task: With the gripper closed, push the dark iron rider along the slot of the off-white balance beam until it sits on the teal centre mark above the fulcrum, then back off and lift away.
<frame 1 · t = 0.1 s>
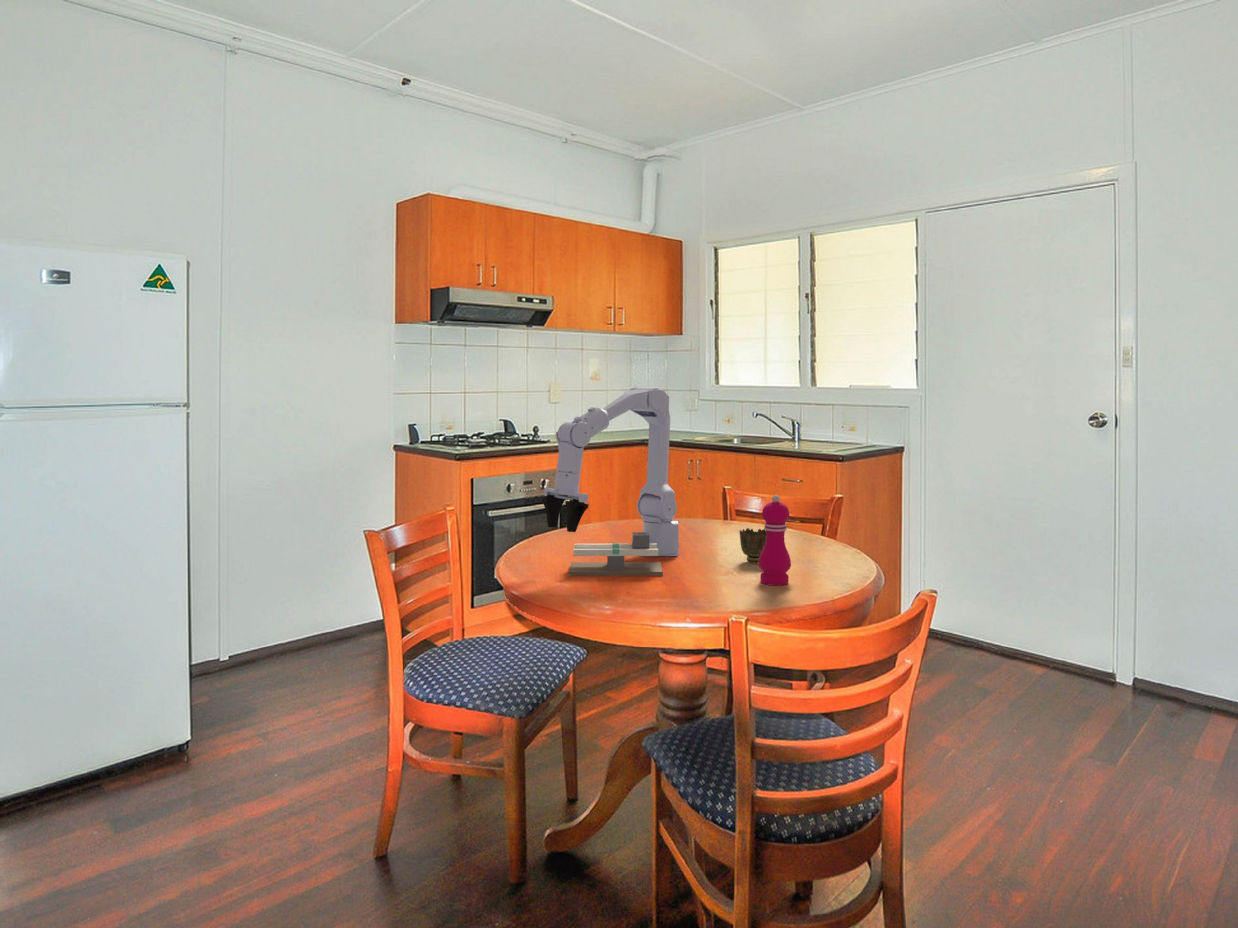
hand: (561, 529, 186), 11 cm above the table, tool pointing down, fingers open, 7 cm apart
pepper mill: (774, 582, 178), on the table
rider: (640, 542, 188), point 7 cm above the table, slide at 6.0 cm
cup: (753, 562, 198), on the table
balance stand: (615, 571, 189), on the table
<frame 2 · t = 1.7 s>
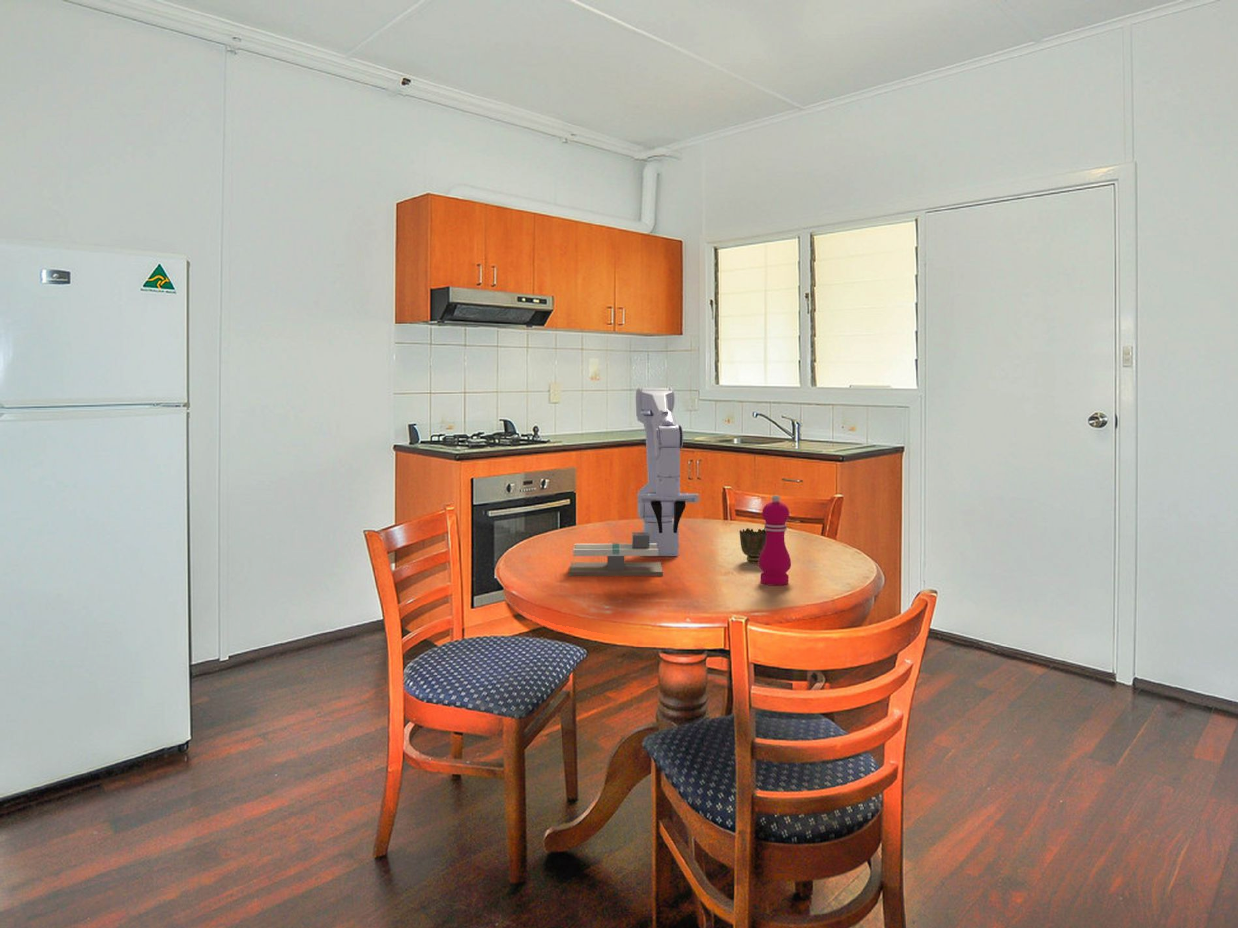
hand: (667, 532, 188), 9 cm above the table, tool pointing down, fingers open, 3 cm apart
nothing on the table moved.
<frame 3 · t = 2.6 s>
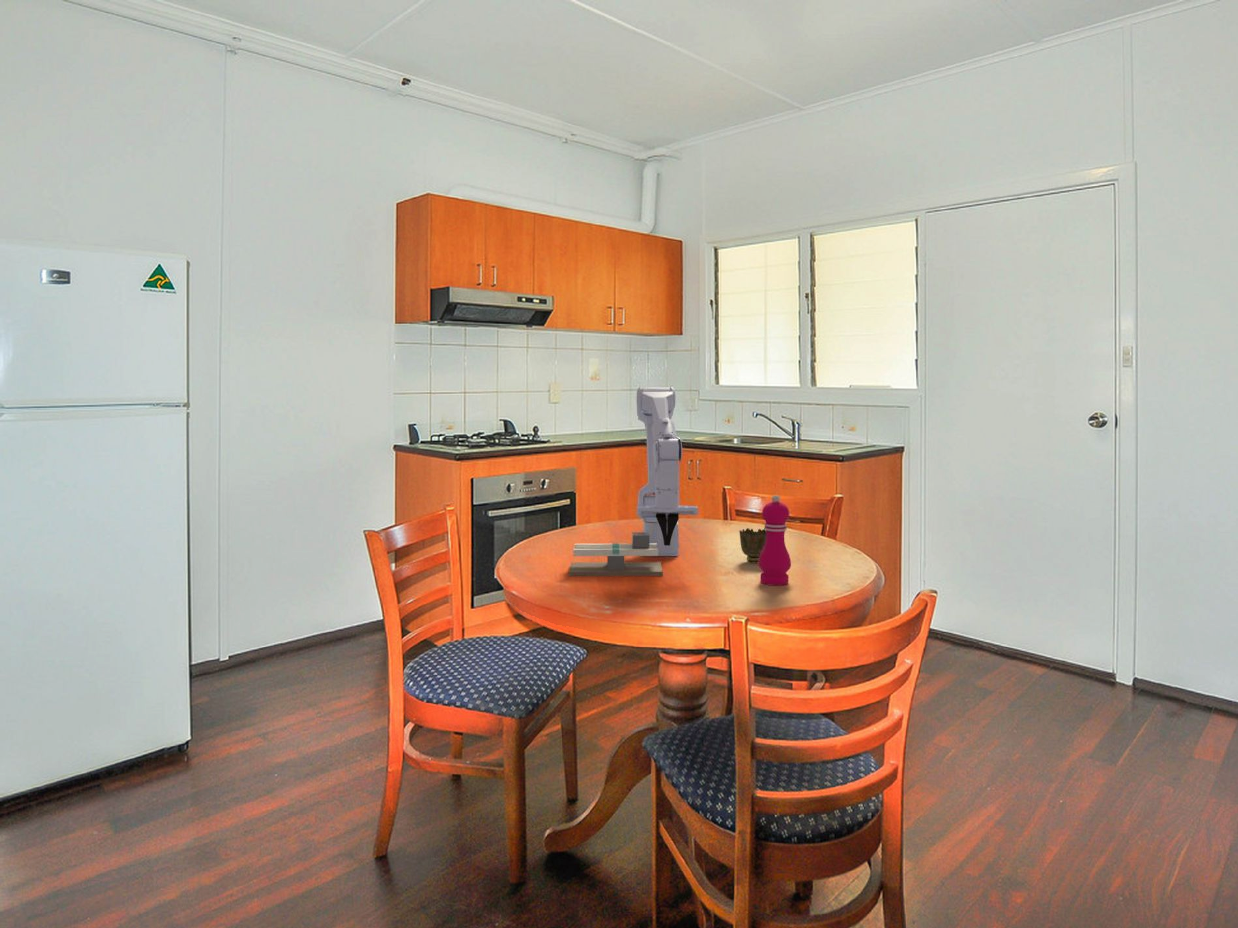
hand: (666, 544, 188), 6 cm above the table, tool pointing down, fingers closed
nothing on the table moved.
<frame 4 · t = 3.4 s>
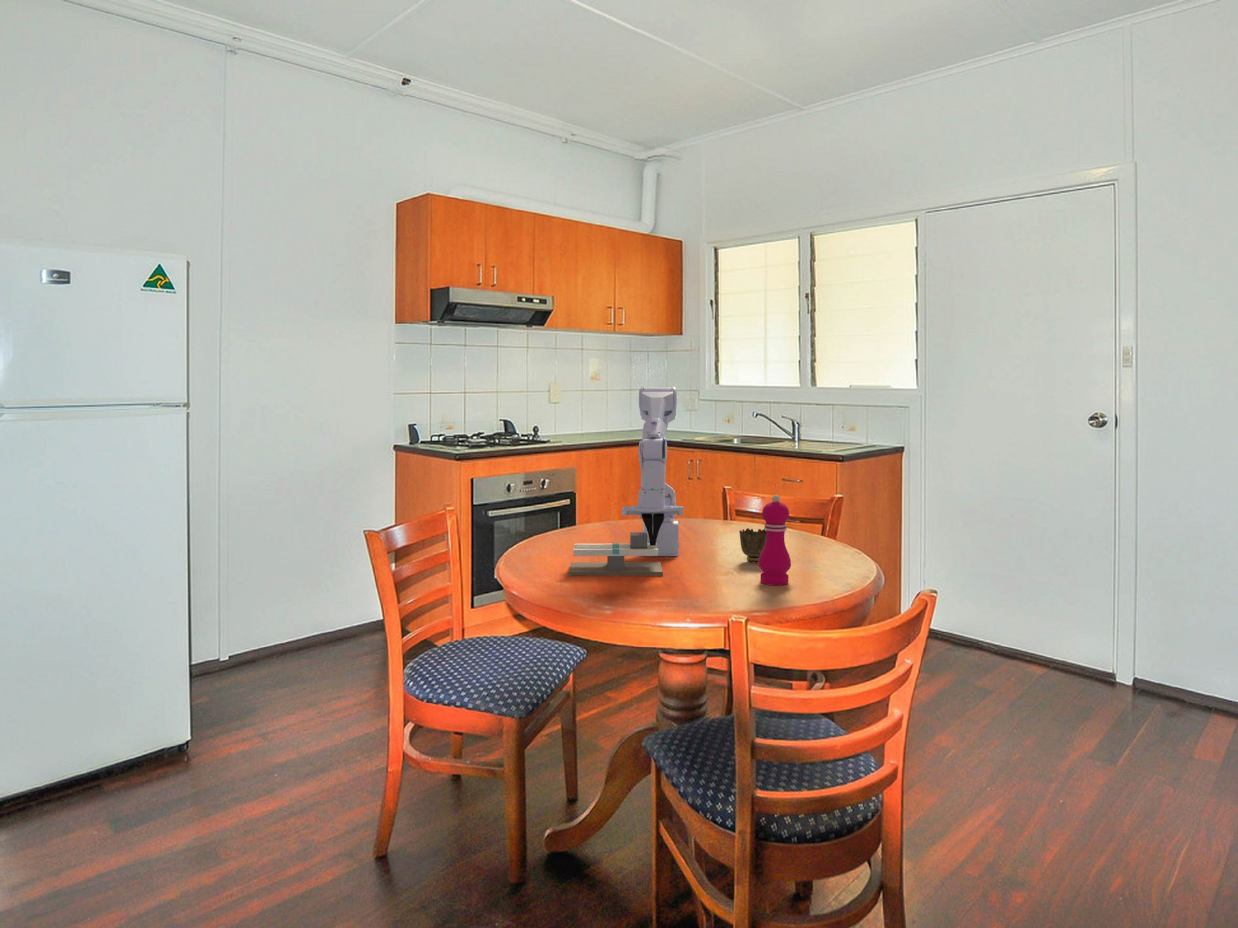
hand: (652, 544, 188), 6 cm above the table, tool pointing down, fingers closed
rider: (638, 542, 188), point 7 cm above the table, slide at 5.5 cm, touching gripper
everything else where it was.
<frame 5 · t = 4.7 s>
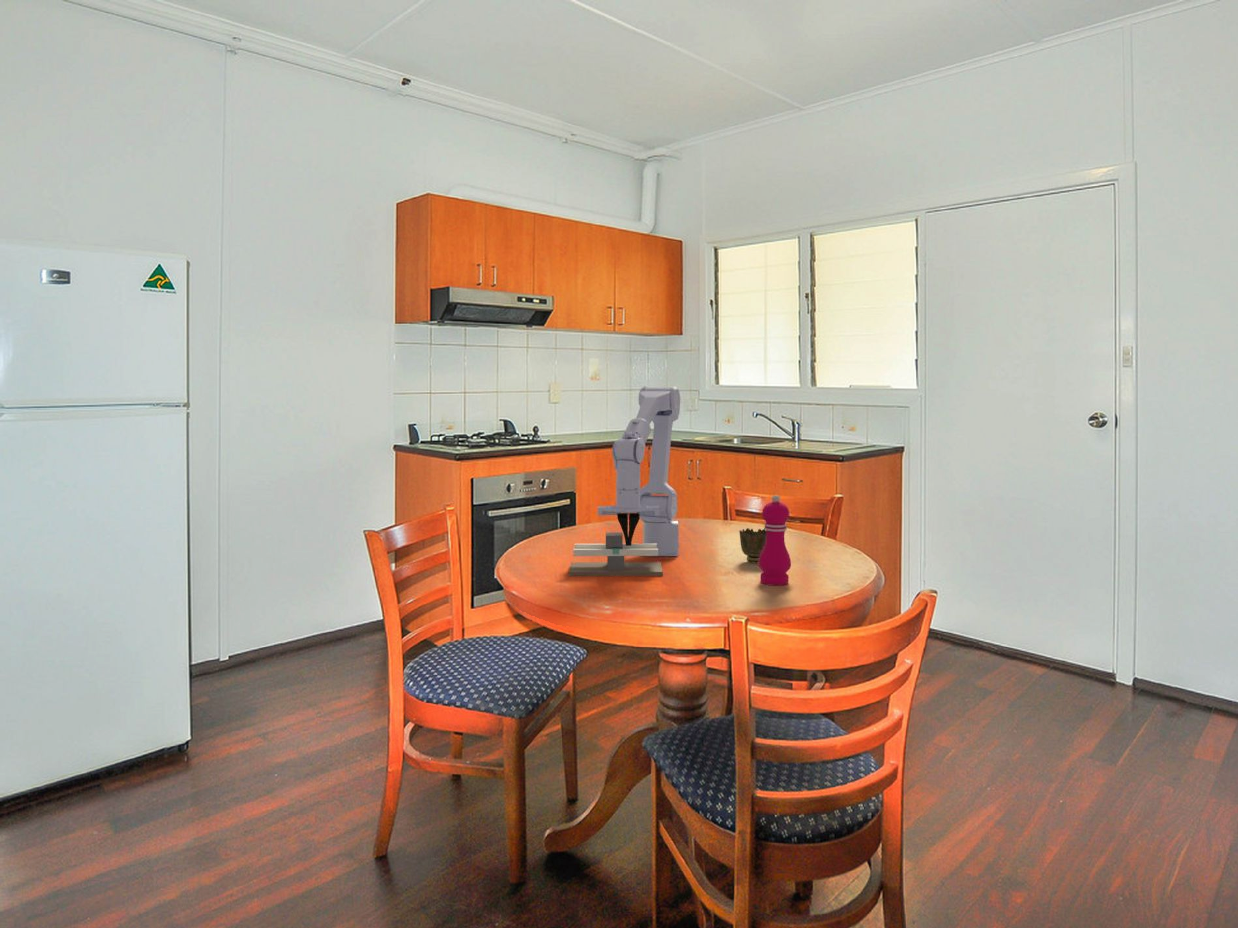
hand: (628, 544, 188), 6 cm above the table, tool pointing down, fingers closed
rider: (614, 542, 188), point 7 cm above the table, slide at -0.4 cm, touching gripper
everything else where it was.
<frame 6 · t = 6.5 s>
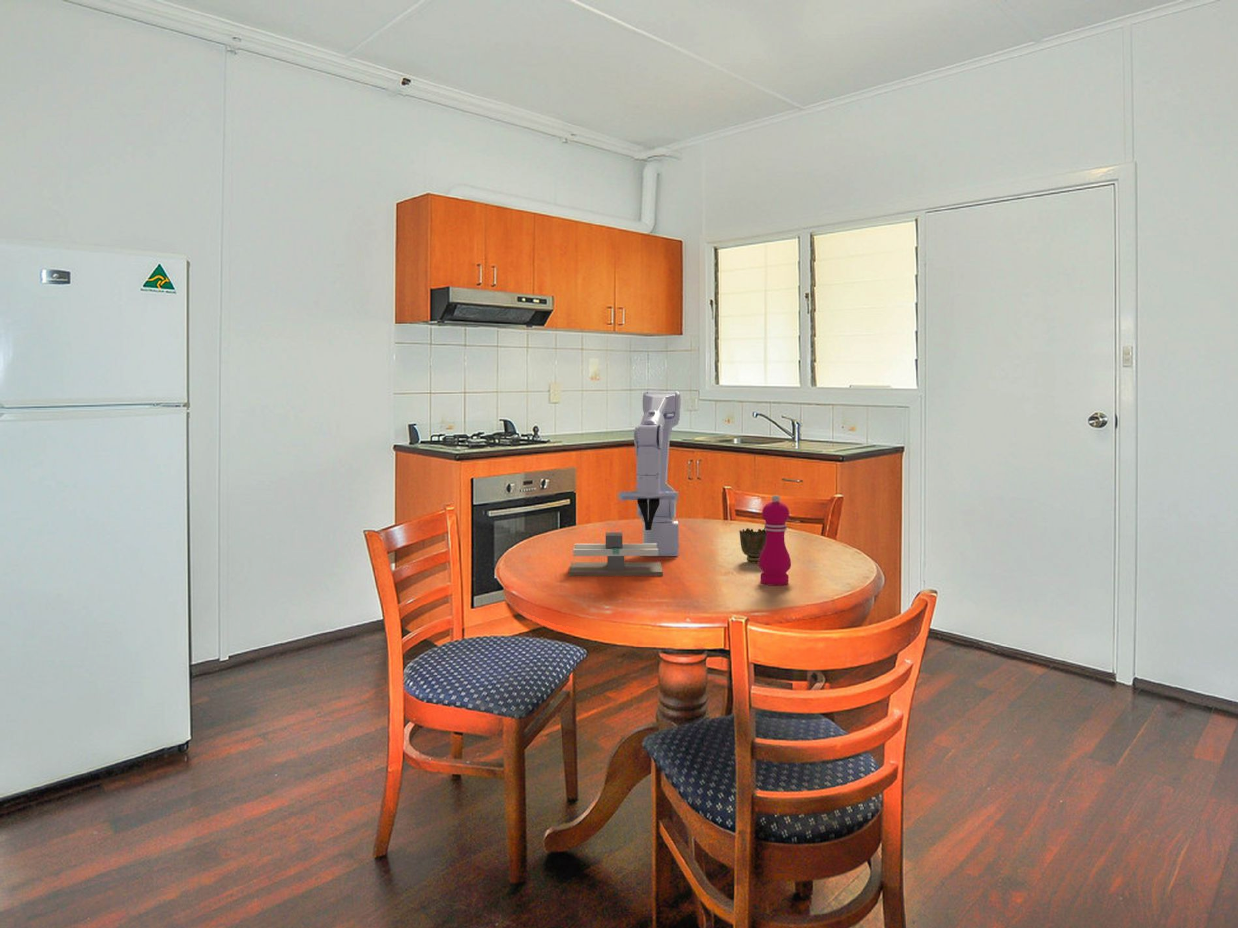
hand: (648, 529, 192), 9 cm above the table, tool pointing down, fingers closed
rider: (614, 542, 188), point 7 cm above the table, slide at -0.4 cm
everything else where it was.
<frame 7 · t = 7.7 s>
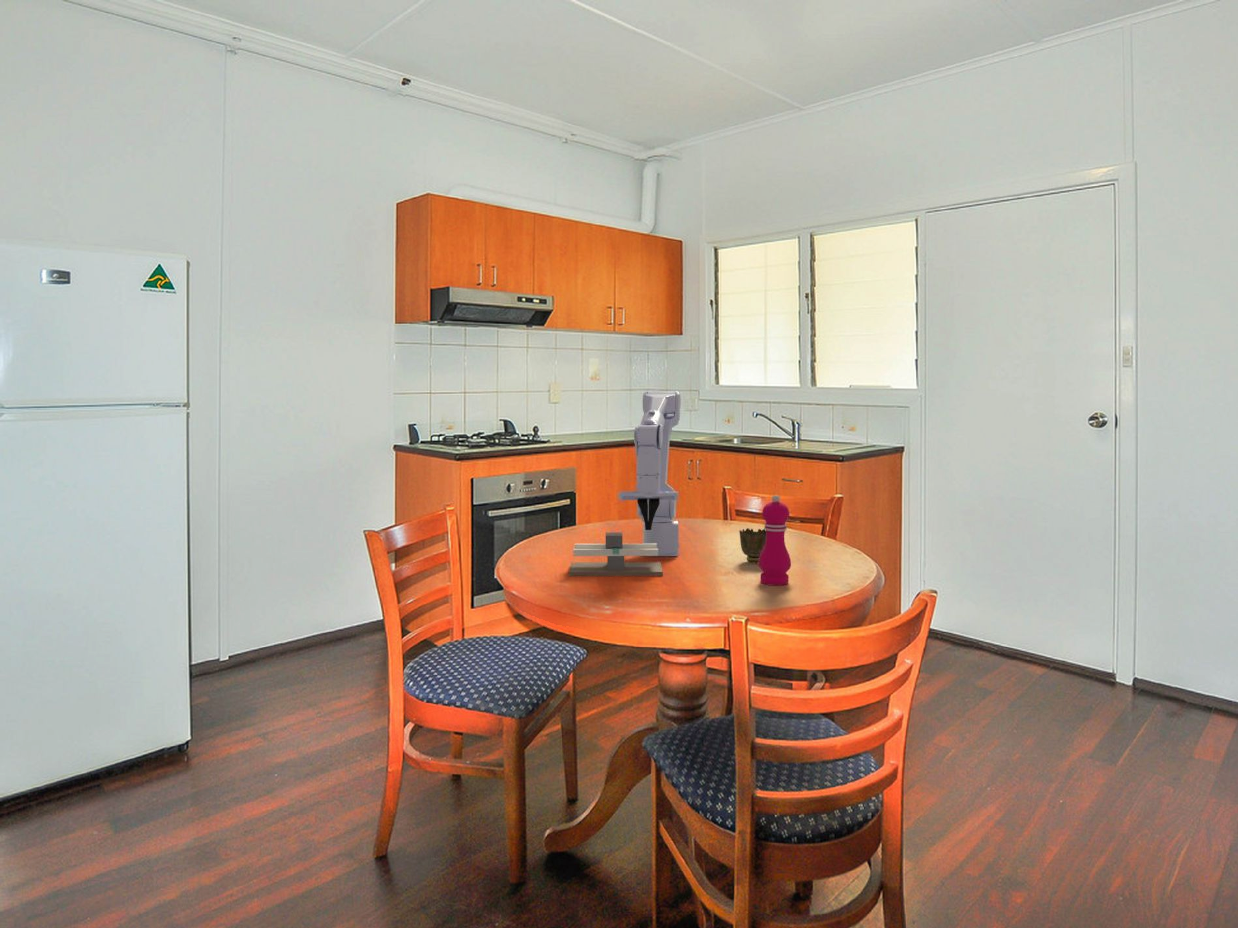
hand: (648, 529, 192), 9 cm above the table, tool pointing down, fingers closed
nothing on the table moved.
at the end: rider slide at -0.4 cm; the gripper is holding nothing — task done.
